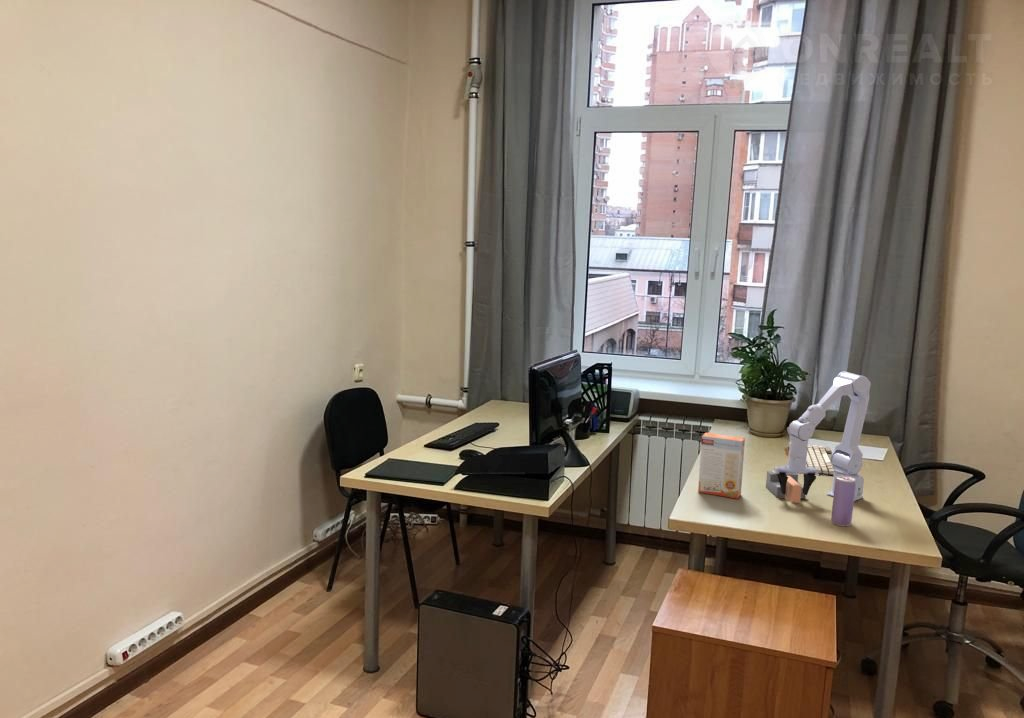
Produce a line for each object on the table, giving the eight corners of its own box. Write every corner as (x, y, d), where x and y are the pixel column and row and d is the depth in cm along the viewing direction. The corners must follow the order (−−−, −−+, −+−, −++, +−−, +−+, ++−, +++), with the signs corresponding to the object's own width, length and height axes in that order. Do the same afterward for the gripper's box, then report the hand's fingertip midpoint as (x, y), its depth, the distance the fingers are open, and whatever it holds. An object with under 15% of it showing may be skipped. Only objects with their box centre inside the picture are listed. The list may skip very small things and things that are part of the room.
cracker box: (741, 494, 263) (745, 437, 260) (738, 499, 258) (742, 441, 255) (701, 487, 270) (705, 431, 266) (697, 492, 264) (701, 435, 261)
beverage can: (849, 528, 235) (854, 482, 233) (829, 523, 238) (834, 478, 236) (852, 522, 240) (857, 477, 238) (832, 518, 243) (837, 473, 241)
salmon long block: (779, 491, 268) (781, 475, 267) (788, 491, 268) (789, 475, 267) (791, 502, 257) (793, 485, 256) (800, 502, 257) (801, 486, 256)
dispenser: (765, 486, 272) (767, 470, 271) (793, 487, 272) (794, 470, 271) (776, 497, 261) (778, 480, 260) (805, 498, 262) (806, 480, 260)
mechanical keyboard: (844, 479, 286) (845, 470, 285) (791, 474, 290) (792, 465, 290) (829, 452, 322) (830, 445, 321) (782, 448, 326) (783, 440, 326)
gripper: (814, 452, 260) (810, 490, 263) (772, 451, 260) (769, 489, 262) (822, 458, 253) (818, 497, 256) (780, 457, 253) (776, 496, 255)
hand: (794, 493), depth 259 cm, fingers open, 7 cm apart
